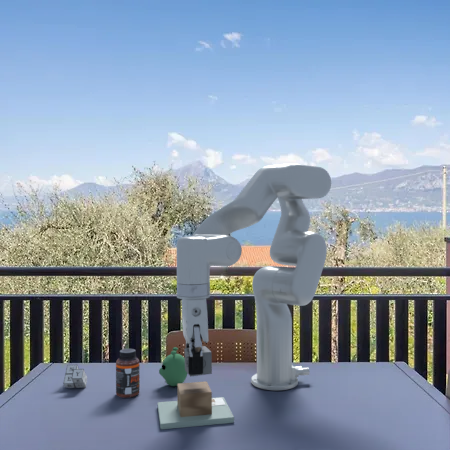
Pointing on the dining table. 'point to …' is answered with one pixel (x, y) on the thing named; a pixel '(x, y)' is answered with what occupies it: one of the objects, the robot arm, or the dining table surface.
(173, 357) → the alien toy
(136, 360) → the supplement bottle
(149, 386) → the dining table surface
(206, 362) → the dice cube
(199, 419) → the build board
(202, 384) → the base brick
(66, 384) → the building blocks
